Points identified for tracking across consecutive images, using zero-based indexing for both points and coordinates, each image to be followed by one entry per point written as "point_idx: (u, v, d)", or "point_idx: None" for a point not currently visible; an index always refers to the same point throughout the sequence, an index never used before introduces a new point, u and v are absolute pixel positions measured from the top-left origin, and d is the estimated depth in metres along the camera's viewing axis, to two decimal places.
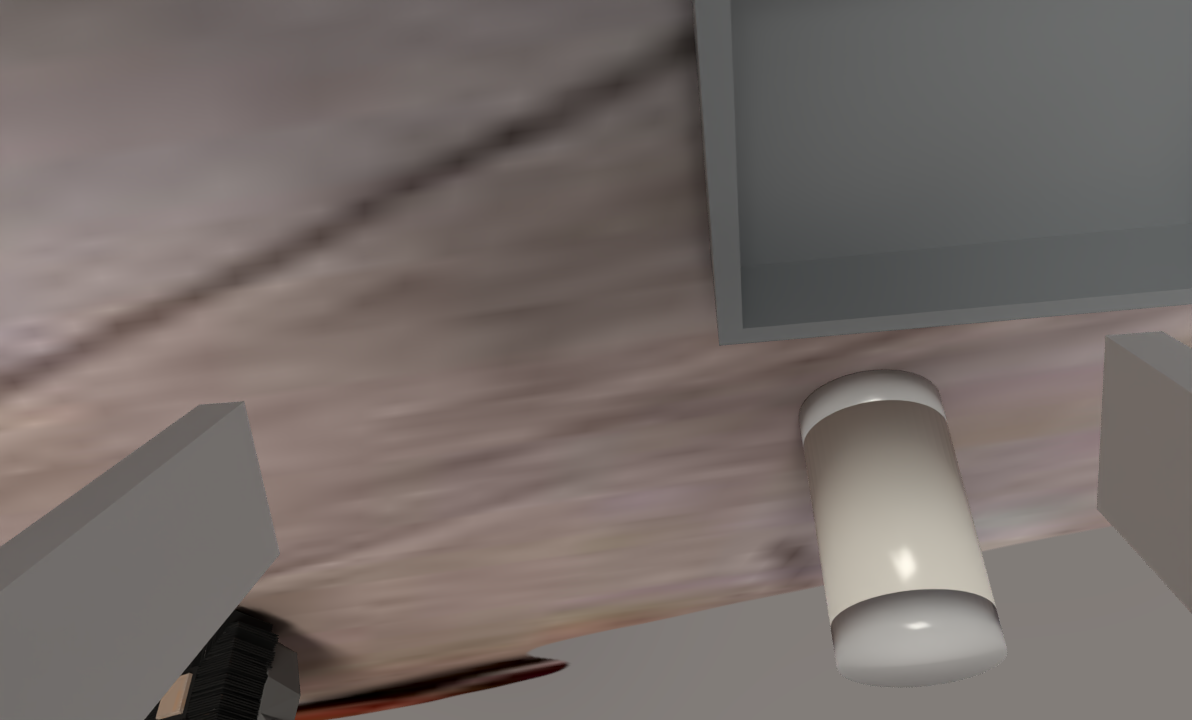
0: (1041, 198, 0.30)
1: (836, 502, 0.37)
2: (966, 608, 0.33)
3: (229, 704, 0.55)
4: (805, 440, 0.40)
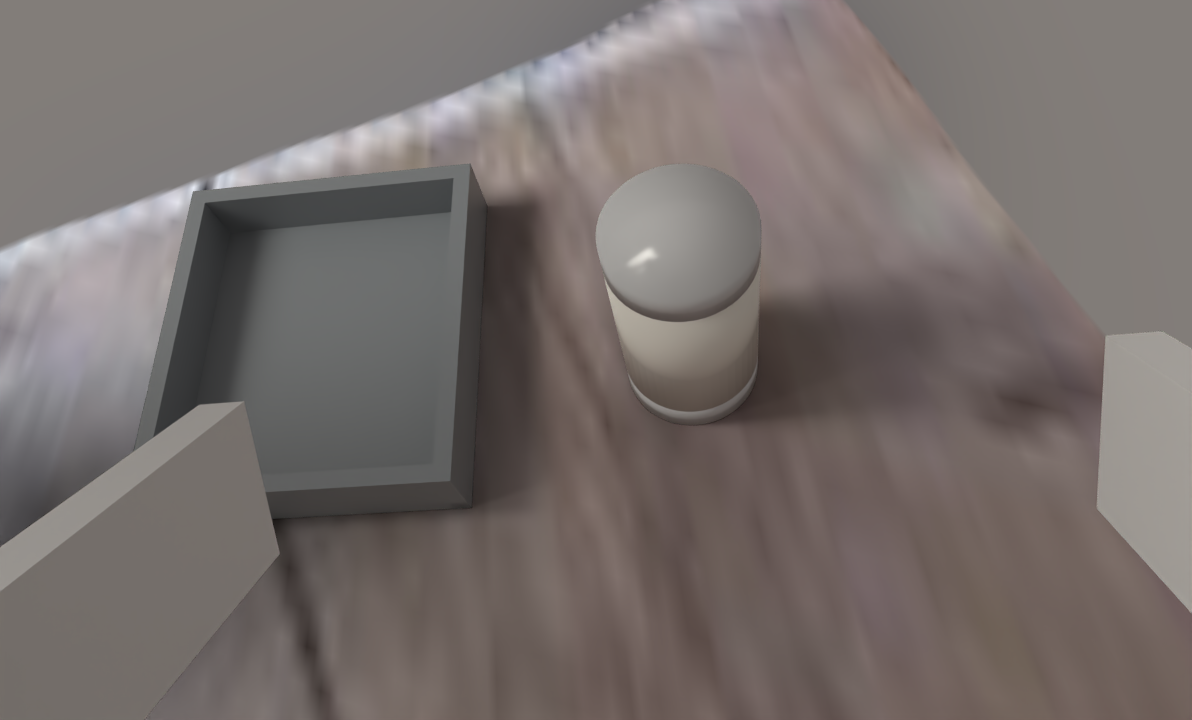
0: (426, 301, 0.47)
1: (640, 359, 0.38)
2: None
3: None
4: (681, 409, 0.41)
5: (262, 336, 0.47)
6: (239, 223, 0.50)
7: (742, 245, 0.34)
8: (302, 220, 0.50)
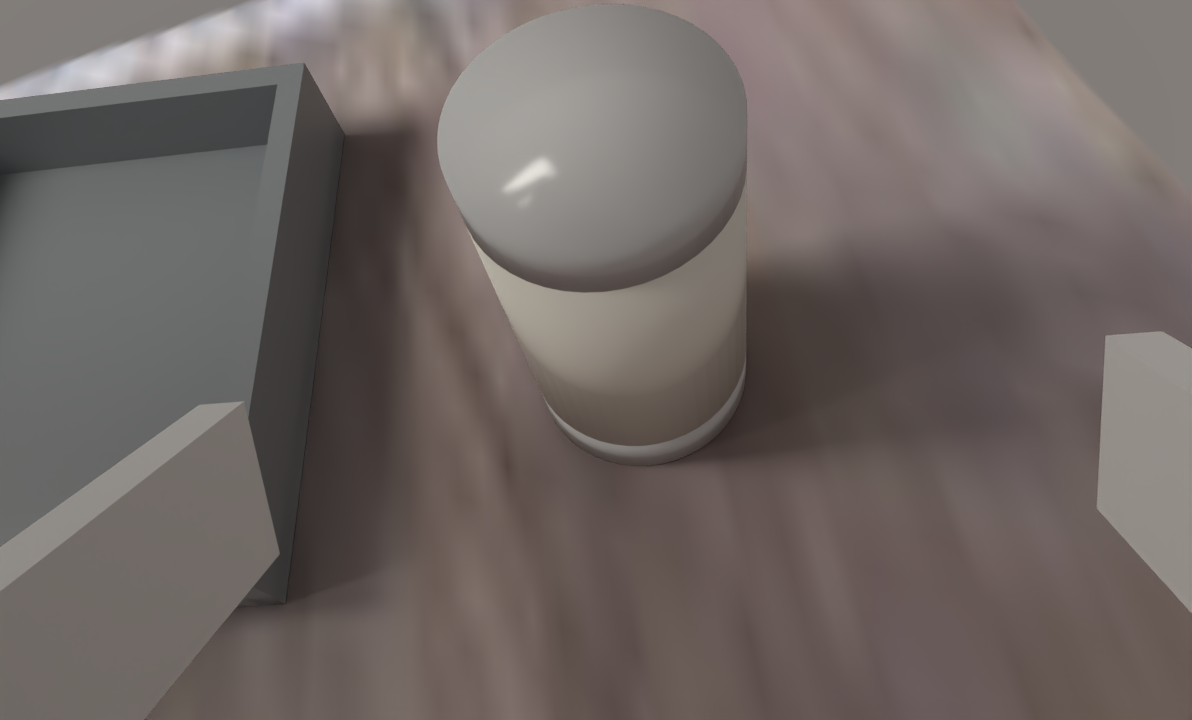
0: (238, 274, 0.30)
1: (543, 362, 0.22)
2: None
3: None
4: (621, 443, 0.25)
5: None
6: None
7: (711, 142, 0.17)
8: (67, 157, 0.33)
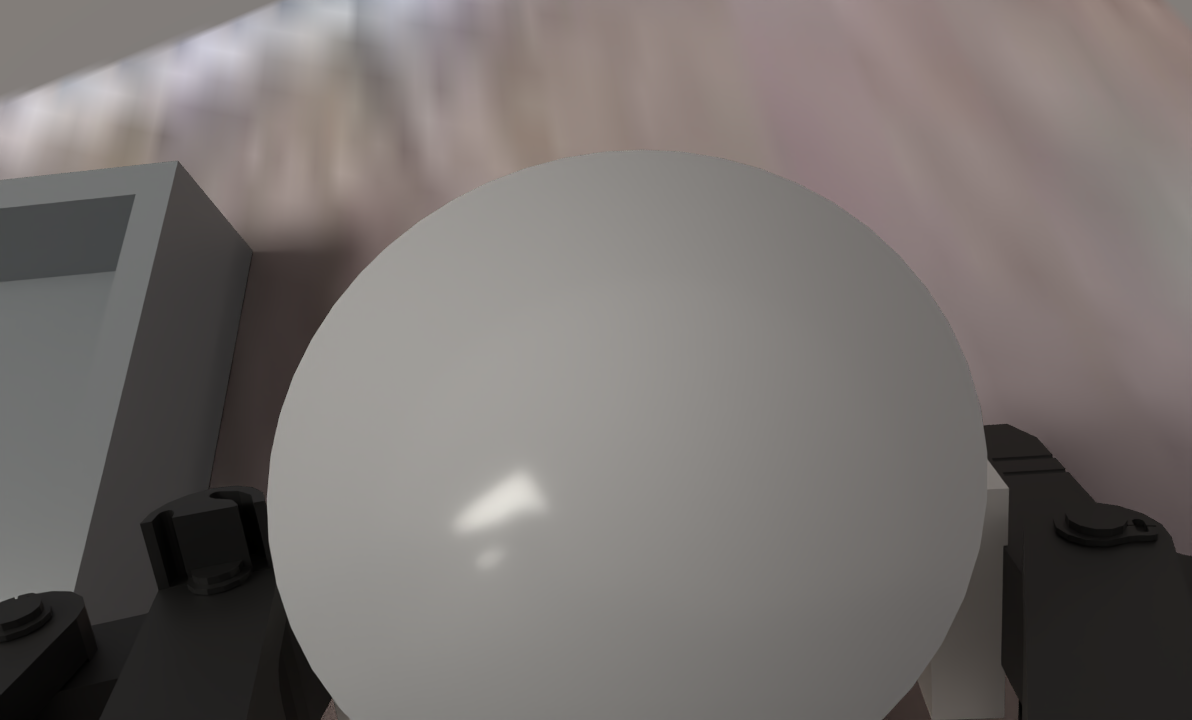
0: None
1: None
2: None
3: None
4: None
5: None
6: None
7: (904, 522, 0.07)
8: None
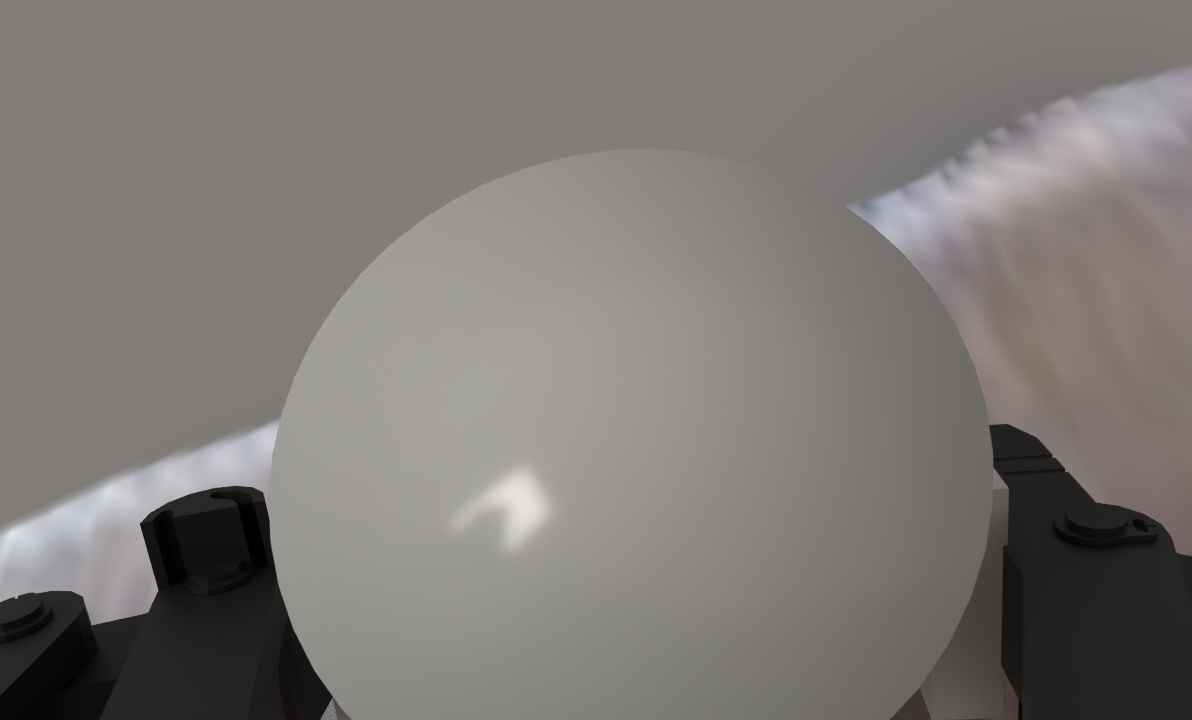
0: None
1: None
2: None
3: None
4: None
5: None
6: None
7: (910, 523, 0.07)
8: None
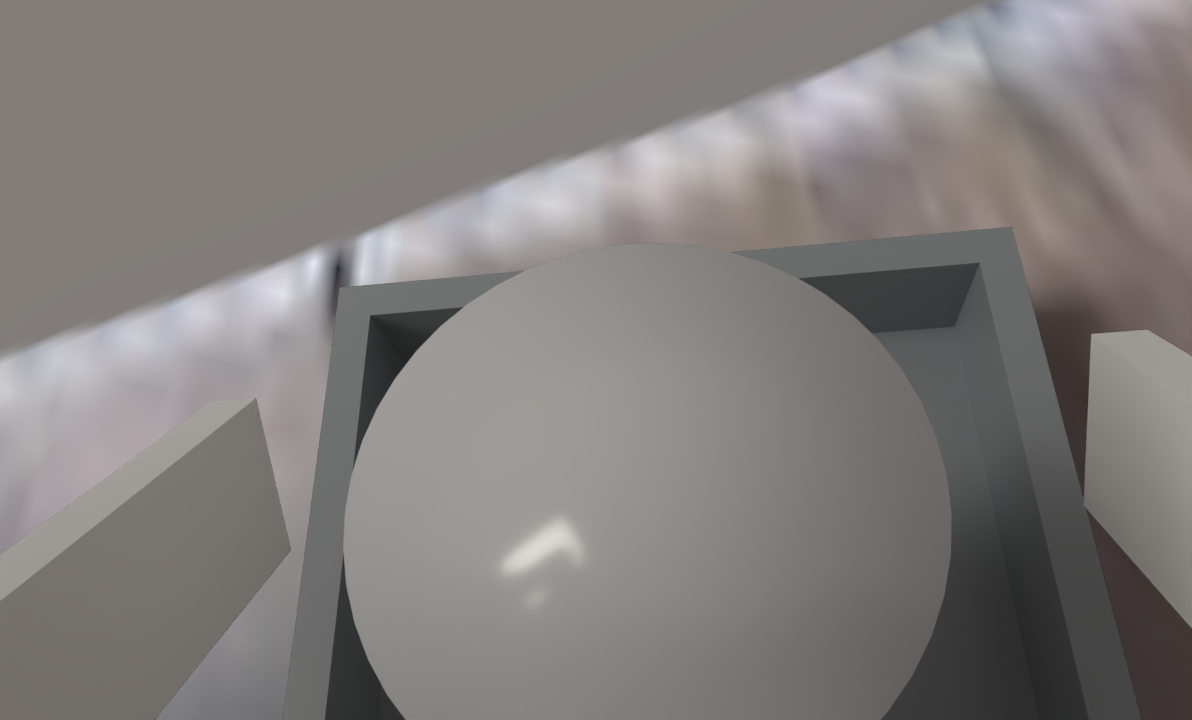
0: None
1: None
2: None
3: None
4: None
5: None
6: None
7: (882, 574, 0.09)
8: None
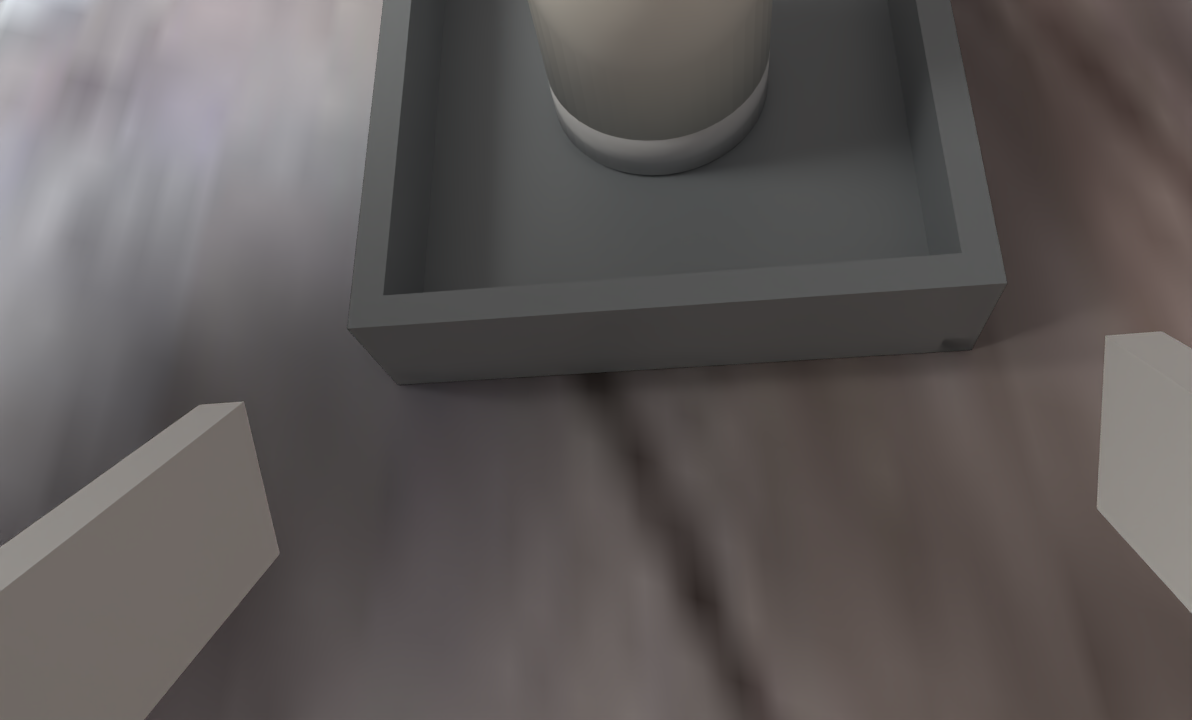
0: (821, 8, 0.27)
1: (561, 14, 0.21)
2: None
3: None
4: (639, 137, 0.24)
5: (533, 72, 0.28)
6: None
7: None
8: None
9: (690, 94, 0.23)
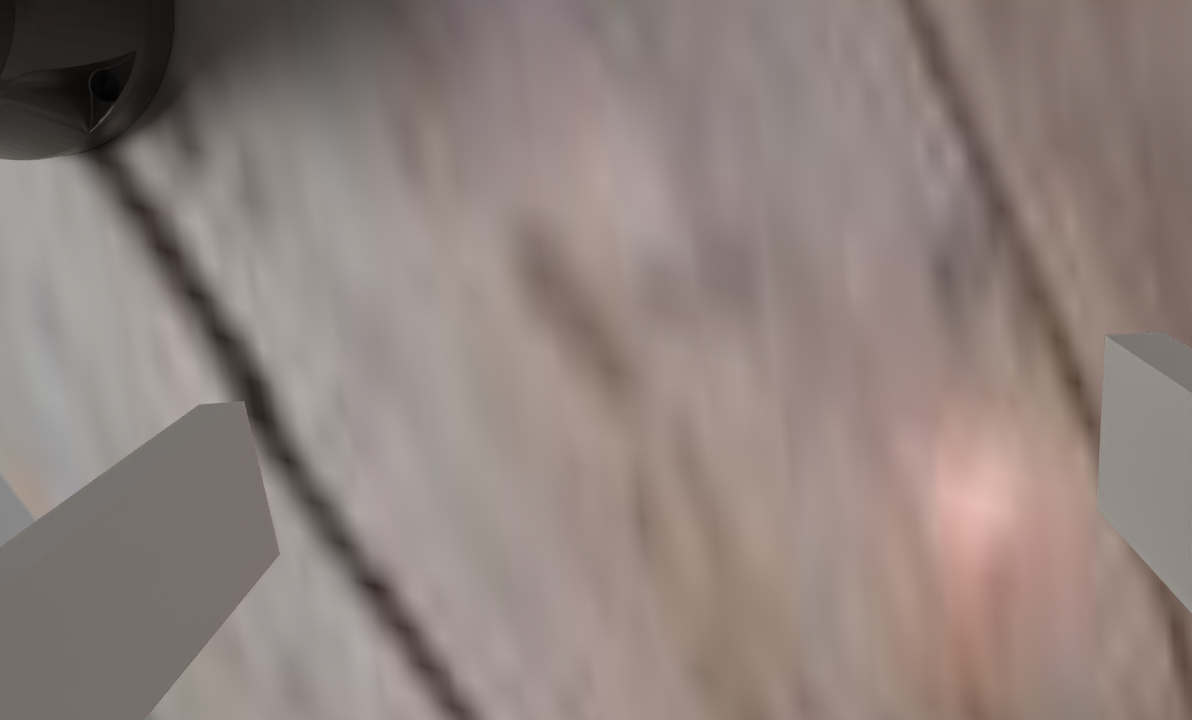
0: None
1: None
2: None
3: None
4: None
5: None
6: None
7: None
8: None
9: None
